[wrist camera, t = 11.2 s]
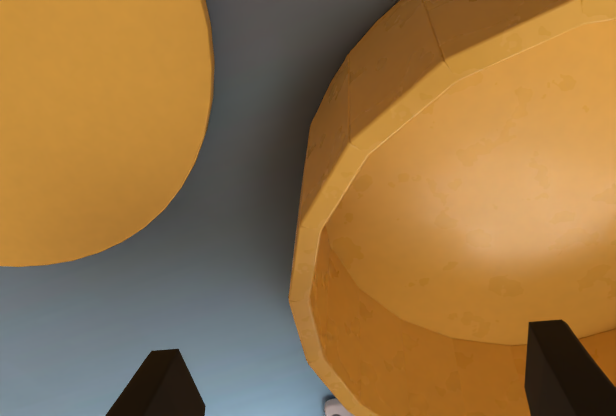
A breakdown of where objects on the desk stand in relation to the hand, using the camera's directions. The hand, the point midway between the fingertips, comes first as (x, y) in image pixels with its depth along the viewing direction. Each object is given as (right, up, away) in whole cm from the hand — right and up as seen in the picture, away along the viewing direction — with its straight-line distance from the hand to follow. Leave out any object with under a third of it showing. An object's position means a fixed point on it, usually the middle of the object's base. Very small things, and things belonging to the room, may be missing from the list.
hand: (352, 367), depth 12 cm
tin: (+8, +4, +8) cm, 12 cm away
